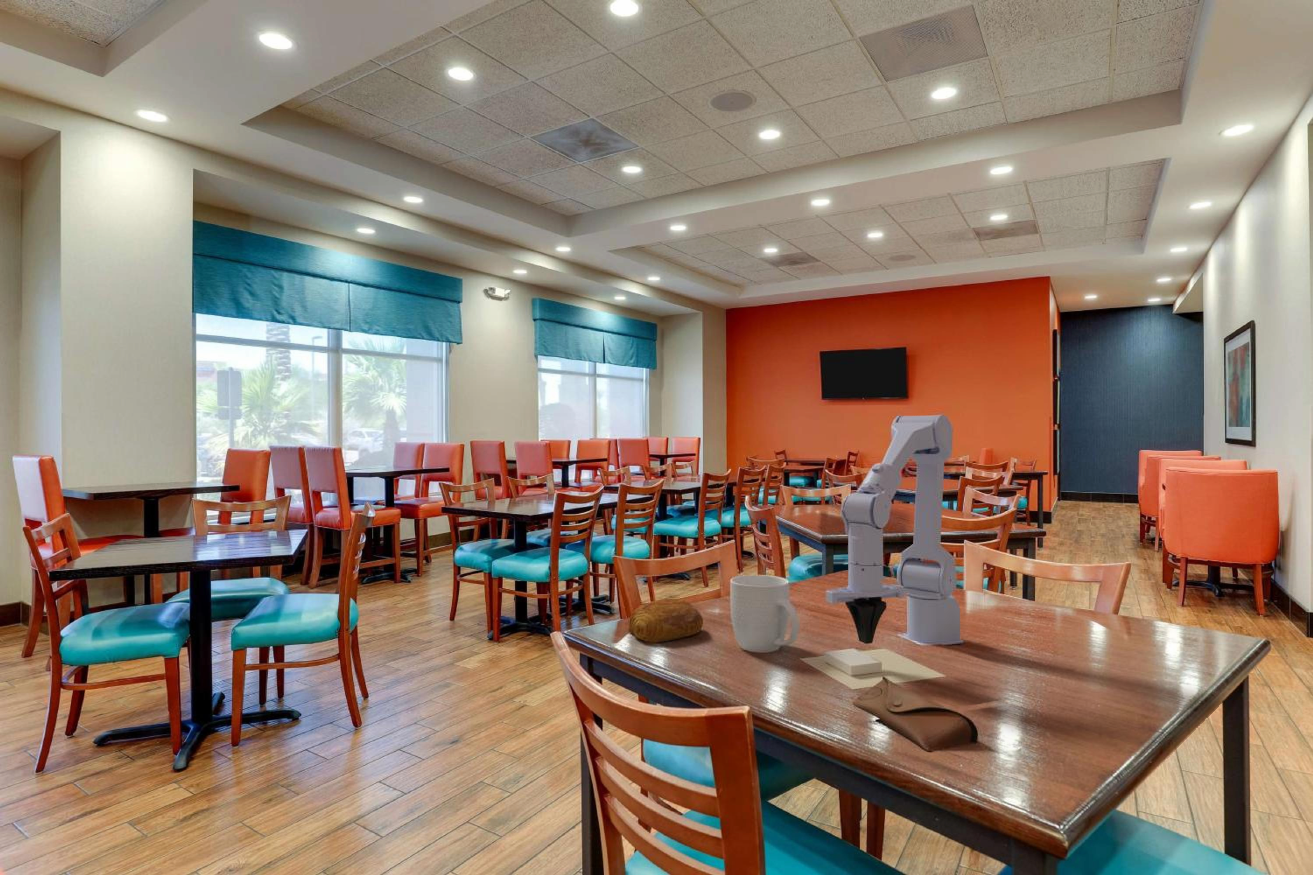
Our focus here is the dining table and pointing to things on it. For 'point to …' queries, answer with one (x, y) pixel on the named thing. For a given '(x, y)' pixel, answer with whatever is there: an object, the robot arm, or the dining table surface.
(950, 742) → the sunglasses case
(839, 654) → the tile
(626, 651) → the dining table surface
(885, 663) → the mat
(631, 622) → the brown rounded lump
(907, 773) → the dining table surface
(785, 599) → the mug
